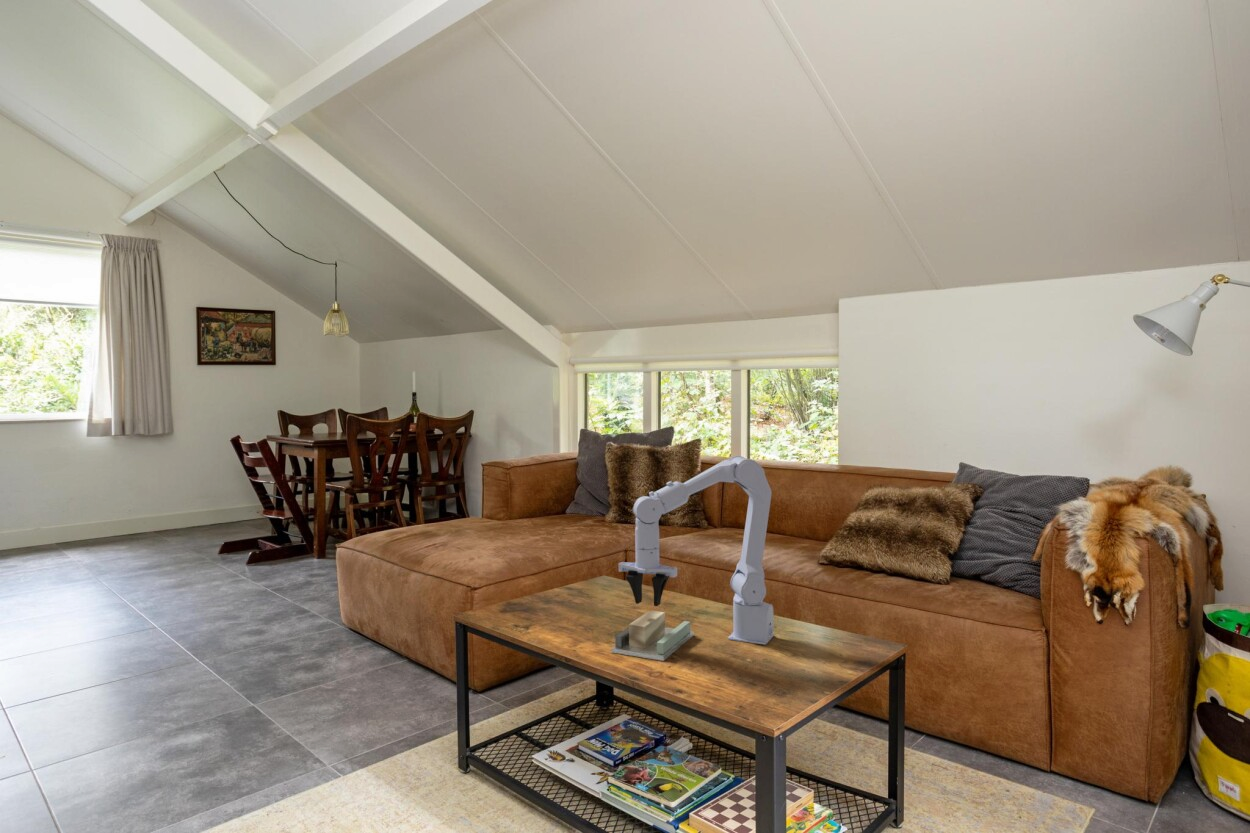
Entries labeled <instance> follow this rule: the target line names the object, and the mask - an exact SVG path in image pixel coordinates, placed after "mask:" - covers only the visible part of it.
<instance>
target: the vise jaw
mask: <svg viewBox="0 0 1250 833" xmlns="http://www.w3.org/2000/svg"><path fill="white" fill-rule="evenodd" d="M690 631H691V621H686V620H684V621H682V622H681V623H680V624H679V625H677V626H676V627H675V629H673V630H672V631H671V632H670V633H668V634H667V635H666V636H665V637H663V638H662V639H661V640H659V641H658V642H657V653H658V654H664V653H665V652H667V651H668V650H669V649H670V648H671V647H673V646H674V645H675V644H676V643H677V642H679V641H680V640H681V639H682V638H683V637H685V636H686V635H687V634H688V633H689V632H690Z"/></svg>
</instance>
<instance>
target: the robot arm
mask: <svg viewBox="0 0 1250 833" xmlns="http://www.w3.org/2000/svg"><path fill="white" fill-rule="evenodd" d="M720 482H722V483H730V484H731V483H736V484H737V485H739V486H740V487H741V488H742V489H743V491H744V492H745V493H746V494H747V496H748V501H747V502H748V504H747V511H746V519H745V526H744V533H743V537H742V538H743V540H742V545H741V546H742V547H741V556H740V559H739V561H738V562H737V564H736V568H735V571H734V573H733V574H732V576H731V578H730V588H731V590H732V591H733V592H734V596H733V598H732V602H733V604H732V606H733V607H732V608H733V609H732V610H733V612H732V616H733V621H732V622H733V623H732V624H733V626H732V628H733V630H732V631H733V632H731V634H730V635H729V636H728V637H727V639H728V640H730V641H735V642H736V641H737V642H744V643H752V644H758V645H767V644H768V643H769V642H770V641H771V639H772V638H773V637H774V636H775V633H774V606H773V604H772V603H769V602H768V603H766V602H765V601H764V599H765V597H766V595H767V587H766V584H765V576H766V575H765V571H764V568H763V558H764V552H765V544H766V538H767V537H766V535H767V529H768V522H769V516H770V515H769V514H770V508H771V502H772V501H771V500H772V494H773V493H772V490H771V487H770V484H769V482H768V479H767V476H766V473H765V469H764V467H762V466H761V465H760V464H759V462H757V461H756V460H754V459H751V458H746V457H744V456H742V455H734V456H732V457H730V458H729V459H725V460H724V459H723V460H722V461H720V462H719V463H717V464H714V465H713V466H712V467H710V468H707V469H706V470H704V471H702V472H701V473H698V474H697V475H695V476H693V477H692V478H690V479H688V480H686V481H685V482H680V481H676V480H675V481H671V480H670V481H668V482H666V483H665V484H666V485H665V486H664V487H662V488H660V489H658V490H656V491H654V490H653V491H650V492H648V494H649V496H647V495H643V496H641V497H640V496H639V497H638V498H637V499H636V501H635V502H634V504H633V507H632V512H633V514H634V516H635V522H634V523H635V529H634V532H635V533H634V534H635V535H634V541H635V542H634V543H635V544H634V545H635V562H628V561H627V562H625V561H622V562H619V563H618V572H619V573H620V572H621V573H623V572H625V573H626V572H627V574H626V575H625V578H626V580H627V582H628V584H629V586H630V589H631V590H632V595H633V597H634V602H635V604H639V605H640V603H642V602H643V601H642V600H643V590H642V589H643V578H644V575H654V576H653V577H652V578H651V583H652V588H653V605H654V606H653V607H659V606H660V605H661V602H662V596H663V593H664V589H665V586H666V584H667V582H668V580H669V579H670V578H673V579H674V578H676V577H678V567H674V566H669V565H664V564H660V528H659V526H660V525H659V521H660V519H661V517H662V515H665V514H668V513H669V512H671V511H673V510H675V509H677V508H679V507H682V506H683V505H684V504H685V505H686V504H687V503H688V501H689V498H690V496H691V495H693V494H695V493H698V492H700V491H703V490H704V489H706V488H708V487H711V486H713V485H715V484H717V483H720Z"/></svg>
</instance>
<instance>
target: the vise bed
mask: <svg viewBox="0 0 1250 833" xmlns="http://www.w3.org/2000/svg"><path fill="white" fill-rule="evenodd" d="M675 628H676V627H675ZM675 628H672V627H668V626H667V627H666V626H665V633H664V634H662V635H661V636H660V637H659V638H657V639H656V640H655V641H653V642H652V643H651V644H650V645H648V646H647V647H646V648H641V647H634V646H629V626H628V627H626V628H625V629H623V630H622V631H621V632H619V633H618V634H616V635H615V638H614V640H615V642H614V643H615V645H614V646H612V647H611V653H612V654H618V655H619V654H620V655H624V656H625V655H626V656H631V657H637V658H642V659H649V660H655V661H660V662H661V661H662V662H664V661H665V660H666V659H667V658H669V657H670V656H671V655H672V654H674V653H675V652H676V651H677V650H678V649H679V648H680V647H682V646H683V645H684V644H685V643H687V641H689V640H690V639H691V638H692V637H693V636H694V635H695V634H694V630H690V632H689V633H688V634H687V635H686V636H685V637H683V638H682V639H681V640H680V641H679V642H677V643H676V644H675V645H674V646H673V647H671V648H670V649H669V650H668V651H667V652H665V653H664V654H658V653H657V642H658V641H659V640H661V639H662V638H663V637H665V636H666V635H667V634H668V633H670V632H671V631H672V630H673V629H675Z"/></svg>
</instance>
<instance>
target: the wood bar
mask: <svg viewBox="0 0 1250 833" xmlns="http://www.w3.org/2000/svg"><path fill="white" fill-rule="evenodd" d="M628 627H629V646H634V647H641V648H646V647H647V646H648V645H650V644H651V643H652V642H653V641H655V640H656V639H657V638H659V637H660V636H661V635H662V634H664V633H665V627H666V611H658V610H650V609H649V611H647V612H645V613H644V614H642V615H641V616H639V617H637V618H636V619H635V620H634V621H632V622H631V623H629V624H628Z"/></svg>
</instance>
